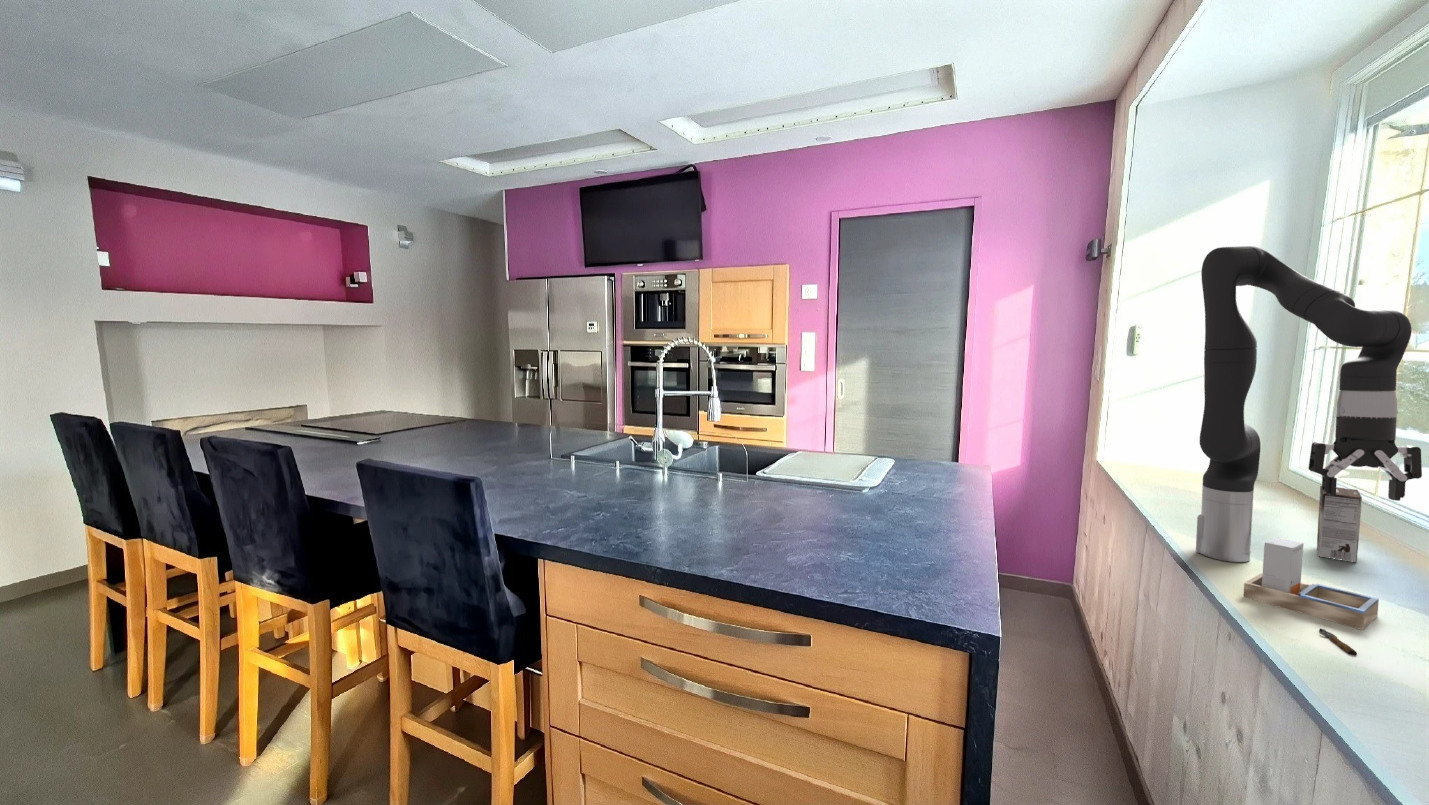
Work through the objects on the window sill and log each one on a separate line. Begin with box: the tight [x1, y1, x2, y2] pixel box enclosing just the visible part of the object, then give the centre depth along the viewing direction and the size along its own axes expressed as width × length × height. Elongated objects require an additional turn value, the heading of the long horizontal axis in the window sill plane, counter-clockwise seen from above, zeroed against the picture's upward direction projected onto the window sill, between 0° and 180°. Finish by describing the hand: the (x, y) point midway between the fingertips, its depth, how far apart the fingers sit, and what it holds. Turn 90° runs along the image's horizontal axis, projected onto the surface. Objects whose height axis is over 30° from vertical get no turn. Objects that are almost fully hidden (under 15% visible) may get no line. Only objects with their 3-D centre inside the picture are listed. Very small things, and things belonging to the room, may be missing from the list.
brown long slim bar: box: [1318, 628, 1358, 656], centre depth 97 cm, size 9×2×1 cm, turn 152°
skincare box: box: [1262, 537, 1304, 595], centre depth 113 cm, size 6×4×12 cm
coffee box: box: [1316, 485, 1363, 562], centre depth 134 cm, size 9×6×16 cm
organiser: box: [1243, 572, 1380, 631], centre depth 110 cm, size 16×10×4 cm, turn 29°
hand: (1361, 497), depth 107 cm, fingers open, 8 cm apart
